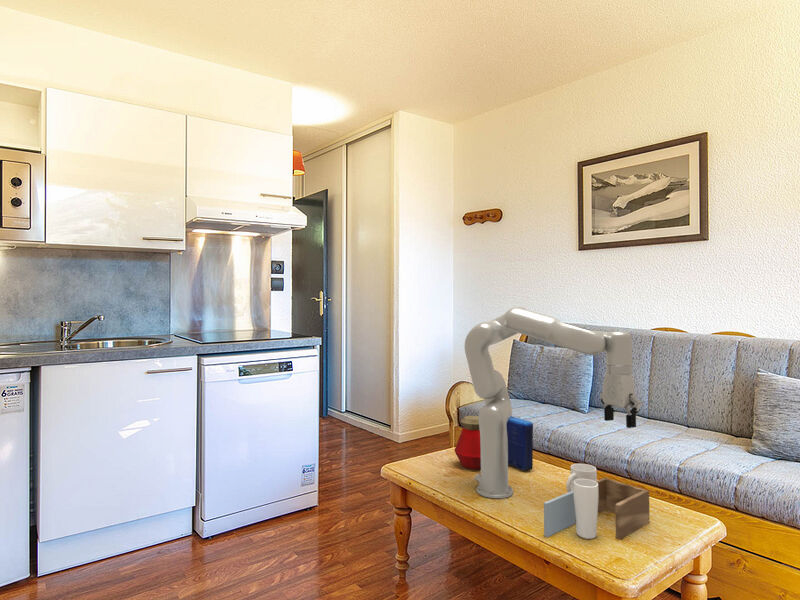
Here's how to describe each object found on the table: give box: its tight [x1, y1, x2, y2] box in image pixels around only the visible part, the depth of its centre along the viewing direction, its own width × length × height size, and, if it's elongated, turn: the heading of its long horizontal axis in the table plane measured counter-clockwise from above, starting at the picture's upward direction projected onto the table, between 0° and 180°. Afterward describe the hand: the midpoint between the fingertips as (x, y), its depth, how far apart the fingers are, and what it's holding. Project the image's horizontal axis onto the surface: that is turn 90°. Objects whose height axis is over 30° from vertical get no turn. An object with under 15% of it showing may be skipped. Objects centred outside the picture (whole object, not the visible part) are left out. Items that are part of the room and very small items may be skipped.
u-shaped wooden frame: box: [575, 477, 650, 540], centre depth 147 cm, size 14×17×10 cm
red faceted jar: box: [454, 415, 481, 471], centre depth 199 cm, size 16×14×20 cm
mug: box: [565, 463, 598, 493], centre depth 165 cm, size 12×8×10 cm
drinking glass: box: [573, 479, 599, 540], centre depth 139 cm, size 7×7×15 cm
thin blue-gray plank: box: [543, 491, 576, 538], centre depth 143 cm, size 14×1×10 cm, turn 127°
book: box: [507, 415, 534, 472], centre depth 198 cm, size 14×5×20 cm, turn 29°
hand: (619, 423), depth 156 cm, fingers open, 9 cm apart
